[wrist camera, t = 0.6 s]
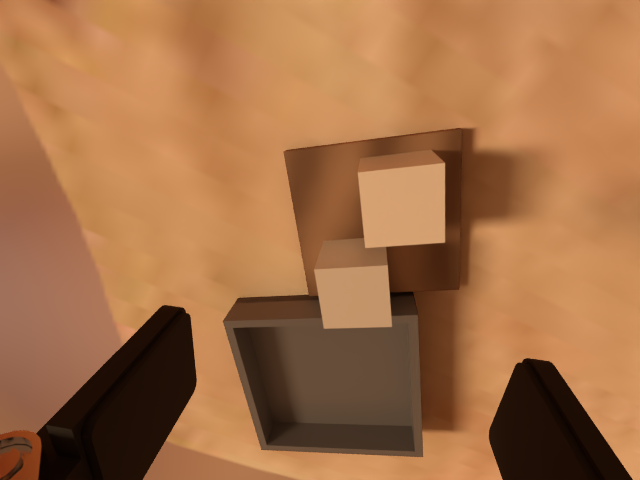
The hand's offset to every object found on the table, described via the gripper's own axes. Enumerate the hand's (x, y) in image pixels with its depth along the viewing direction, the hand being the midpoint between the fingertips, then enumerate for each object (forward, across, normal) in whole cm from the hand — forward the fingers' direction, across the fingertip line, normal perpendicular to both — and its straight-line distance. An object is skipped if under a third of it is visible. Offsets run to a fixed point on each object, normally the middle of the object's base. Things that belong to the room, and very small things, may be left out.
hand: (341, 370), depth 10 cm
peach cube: (+20, -3, 0) cm, 21 cm away
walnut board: (+21, -2, +3) cm, 22 cm away
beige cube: (+20, -1, +7) cm, 22 cm away
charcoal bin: (+21, 0, +20) cm, 29 cm away
